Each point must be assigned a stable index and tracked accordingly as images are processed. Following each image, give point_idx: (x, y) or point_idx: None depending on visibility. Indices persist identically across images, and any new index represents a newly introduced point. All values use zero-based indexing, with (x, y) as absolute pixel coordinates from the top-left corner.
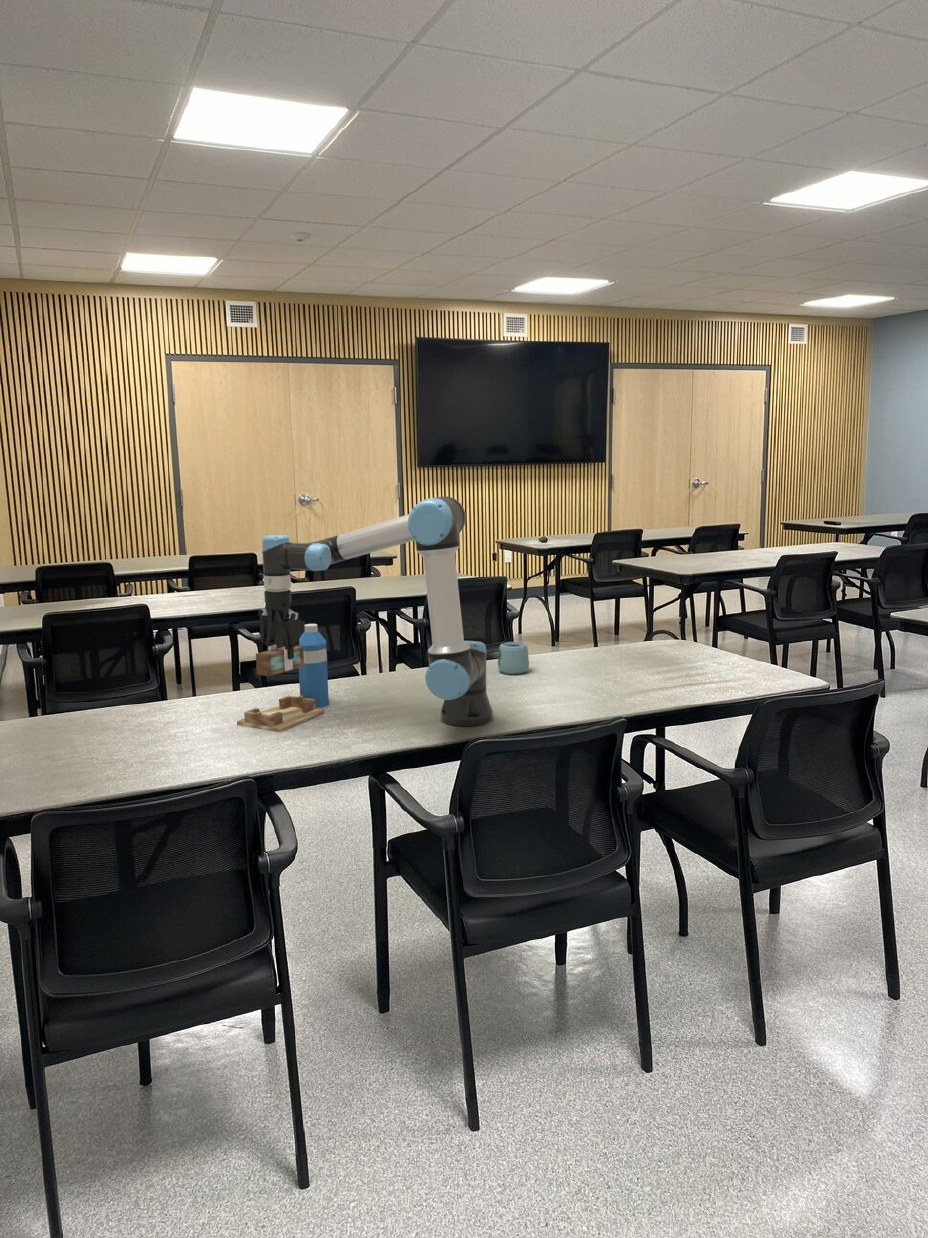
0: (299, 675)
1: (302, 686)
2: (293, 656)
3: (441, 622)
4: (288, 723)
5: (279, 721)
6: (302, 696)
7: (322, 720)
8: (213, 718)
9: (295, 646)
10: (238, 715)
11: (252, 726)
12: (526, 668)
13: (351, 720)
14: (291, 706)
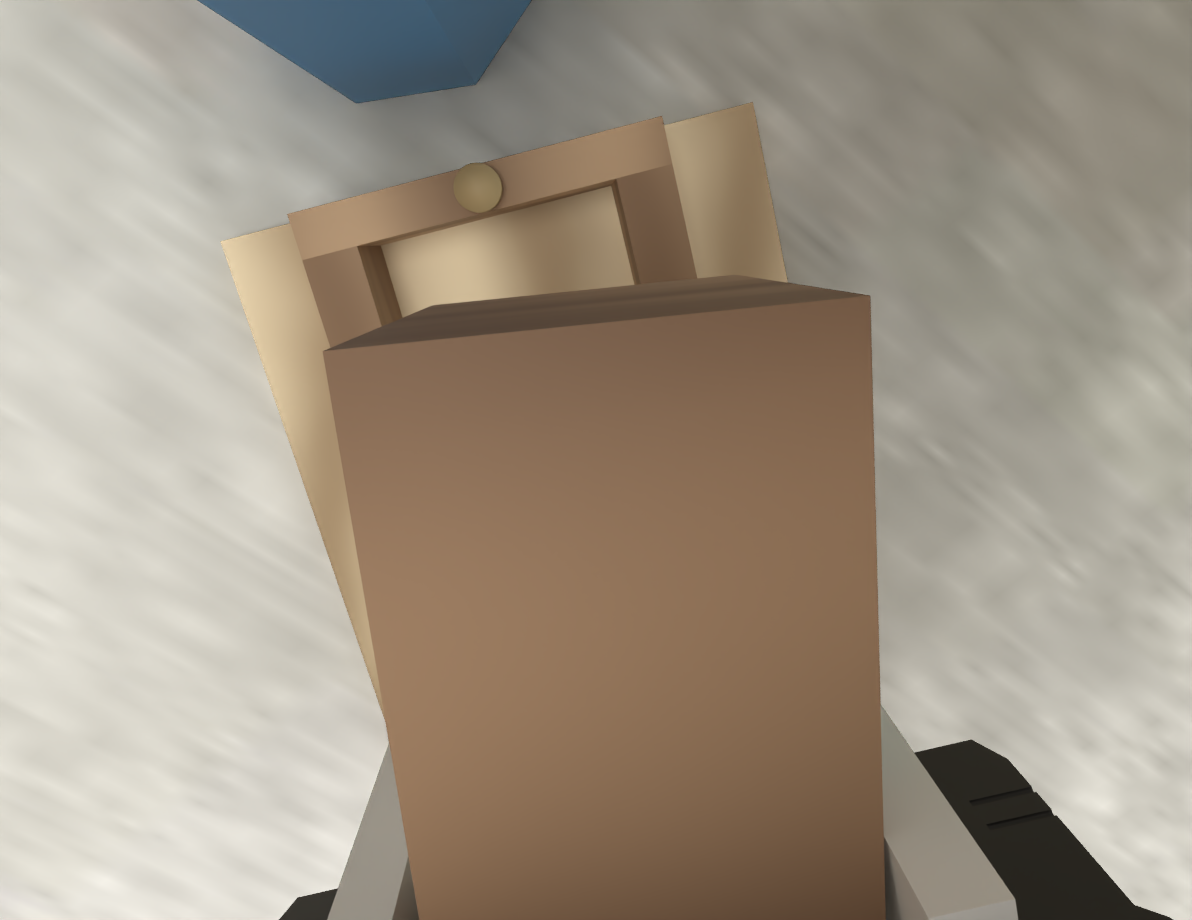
0: (241, 20)
1: (342, 50)
2: (1018, 785)
3: None
4: None
5: None
6: (499, 179)
7: (901, 266)
8: (126, 830)
9: (601, 438)
10: (193, 661)
11: None
12: None
13: (1131, 78)
14: (387, 244)
